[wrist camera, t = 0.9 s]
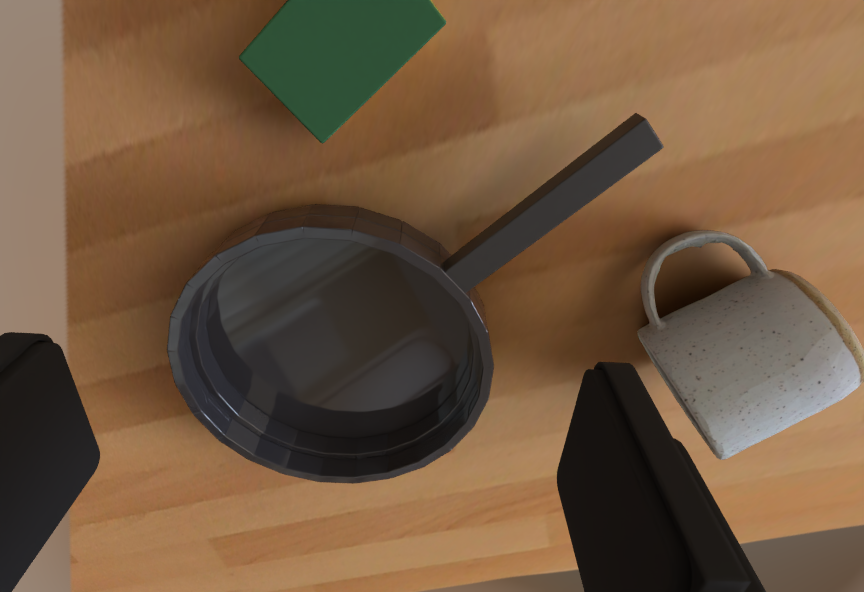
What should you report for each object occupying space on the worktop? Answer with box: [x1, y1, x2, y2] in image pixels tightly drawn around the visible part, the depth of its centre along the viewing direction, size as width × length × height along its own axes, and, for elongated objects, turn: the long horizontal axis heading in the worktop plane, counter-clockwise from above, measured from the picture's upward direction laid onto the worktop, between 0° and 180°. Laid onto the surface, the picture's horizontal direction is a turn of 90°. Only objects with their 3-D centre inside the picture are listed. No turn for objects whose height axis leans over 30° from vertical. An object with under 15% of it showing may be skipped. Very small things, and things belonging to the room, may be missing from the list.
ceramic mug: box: [637, 230, 864, 460], centre depth 26 cm, size 11×8×8 cm
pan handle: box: [444, 113, 663, 293], centre depth 24 cm, size 2×11×1 cm, turn 131°
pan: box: [167, 204, 494, 483], centre depth 29 cm, size 17×17×4 cm
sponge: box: [239, 0, 446, 143], centre depth 21 cm, size 4×7×3 cm, turn 131°
